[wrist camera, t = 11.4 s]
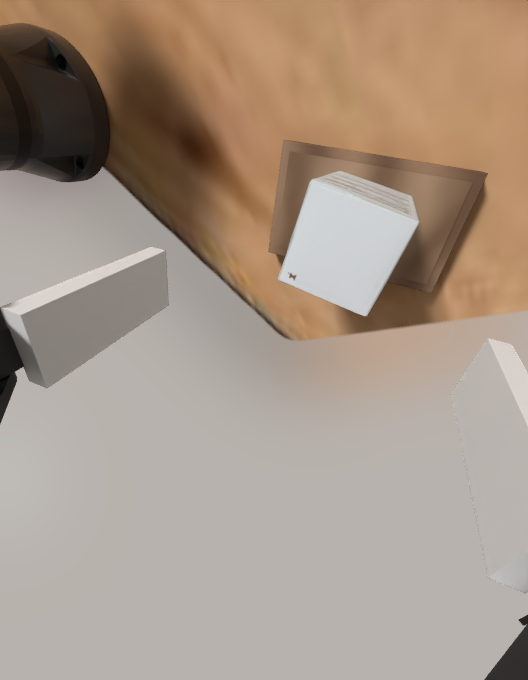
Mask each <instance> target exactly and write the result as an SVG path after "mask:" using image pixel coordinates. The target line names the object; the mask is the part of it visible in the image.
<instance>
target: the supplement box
mask: <svg viewBox="0 0 528 680" xmlns="http://www.w3.org/2000/svg"><path fill="white" fill-rule="evenodd" d="M418 224H419V219H418V216H417V212H416V208H415V205H414V201H413V198H412V196H410V195H407V194H404V193H401V192H399V191H396V190H393V189H390V188H388V187H385V186H382V185H379V184H377V183H374V182H371V181H368V180H365V179H363V178H360V177H357V176H354V175H351V174H349V173H346V172H343V171H338V172H334V173H331V174H328V175H325V176H322V177H319V178H316V179H312V180H311V181H310V183H309V186H308V189H307V192H306V195H305V198H304V201H303V204H302V207H301V210H300V214H299V217H298V220H297V223H296V226H295V229H294V231H293V234H292V237H291V240H290V244H289V247H288V250H287V254H286V257H285V260H284V262H283V266H282V269H281V272H280V274H279V277H278V280H279V281H280V282H283V283H286V284H288V285H291V286H293V287H296V288H298V289H301V290H303V291H305V292H308V293H310V294H312V295H315V296H317V297H319V298H322V299H324V300H326V301H329V302H331V303H333V304H336V305H338V306H340V307H343V308H345V309H347V310H350V311H352V312H355V313H357V314H359V315H362V316H365V317H366V316H367V315H368V314H369V312H370V310H371V309H372V307H373V305H374V304H375V302H376V300H377V298H378V297H379V295H380V293H381V291H382V290H383V288H384V286H385V284H386V283H387V281H388V279H389V277H390V276H391V274H392V272H393V270H394V268H395V266H396V265H397V263H398V261H399V259H400V257H401V256H402V254H403V252H404V250H405V249H406V247H407V245H408V243H409V241H410V240H411V238H412V236H413V234H414V232H415V230H416V228H417V226H418Z"/></svg>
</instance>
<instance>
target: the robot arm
mask: <svg viewBox="0 0 528 680" xmlns="http://www.w3.org/2000/svg"><path fill="white" fill-rule="evenodd" d="M108 147H109V123H108V116H107V111H106V106H105V103H104V99H103V96H102V93H101V90H100V88H99V85H98V83H97V81H96V79H95V77H94V75H93V73H92V71H91V69H90V68H89V66H88V64H87V63H86V61H85V60H84V59H83V57H82V56H81V55H80V53H79V52H78V51H77V50H76V49H75V48H74V47H73V46H72V45H71V44H70V43H69V42H68V41H67V40H66V39H64V38H63V37H62V36H60V35H58V34H57V33H55V32H52V31H50V30H47V29H44V28H41V27H38V26H35V25H31V24H25V23H16V24H9V25H2V26H0V171H2V170H20V171H23V172H27V173H31V174H34V175H38V176H42V177H46V178H49V179H53V180H56V181H61V182H75V181H84V180H88V179H90V178H92V177H93V176H95V175H96V174H97V173H98V172H99V171H100V169H101V168H102V166H103V164H104V162H105V160H106V157H107V153H108ZM168 305H169V304H168V284H167V266H166V251H165V250H162V249H158V248H155V247H149V248H146V249H144V250H141V251H139V252H136V253H134V254H131V255H129V256H126V257H124V258H121V259H119V260H116V261H114V262H111V263H109V264H107V265H104V266H102V267H99V268H97V269H94V270H92V271H89V272H87V273H84V274H82V275H80V276H77V277H74V278H72V279H69V280H67V281H64V282H62V283H59V284H57V285H54V286H52V287H49V288H47V289H44V290H42V291H39V292H37V293H35V294H32V295H29V296H27V297H25V298H22V299H20V300H17V301H15V302H12V303H10V304H7V305H5V306H2V307H0V423H1V421H2V418H3V416H4V413H5V410H6V408H7V405H8V403H9V400H10V397H11V395H12V392H13V390H14V387H15V385H16V382H17V376H16V374H15V371H17V370H18V369H20V368H22V367H24V369H25V372H26V374H27V377H28V379H29V381H31V382H33V383H36V384H38V385H40V386H43V387H45V388H48V387H50V386H51V385H53V384H54V383H56V382H57V381H59V380H60V379H62V378H63V377H65V376H66V375H68V374H69V373H70V372H71V371H73V370H75V369H76V368H77V367H79V366H81V365H82V364H84V363H85V362H86V361H88V360H89V359H91V358H92V357H94V356H95V355H97V354H98V353H99V352H101V351H102V350H104V349H105V348H107V347H108V346H110V345H111V344H112V343H114V342H116V341H117V340H119V339H120V338H121V337H123V336H124V335H126V334H127V333H128V332H130V331H131V330H133V329H135V328H136V327H137V326H139V325H140V324H142V323H143V322H145V321H146V320H148V319H149V318H151V317H152V316H153V315H155V314H156V313H158V312H159V311H161V310H162V309H164V308H165V307H166V306H168ZM451 398H452V403H453V407H454V412H455V417H456V422H457V427H458V432H459V437H460V442H461V447H462V452H463V456H464V461H465V466H466V471H467V476H468V481H469V486H470V491H471V495H472V501H473V505H474V511H475V515H476V520H477V525H478V530H479V535H480V540H481V545H482V550H483V555H484V560H485V564H486V570H487V575H488V578H490V579H492V580H495V581H497V582H500V583H502V584H504V585H506V586H509V587H511V588H514V589H516V590H518V591H520V592H523V593H527V592H528V373H527V371H526V370H525V368H524V366H523V364H522V362H521V360H520V358H519V357H518V355H517V353H516V351H515V350H514V348H513V346H512V345H511V344H507V343H503V342H500V341H496V340H493V339H489V338H487V340H486V341H485V343H484V344H483V346H482V347H481V349H480V351H479V352H478V354H477V355H476V357H475V358H474V360H473V361H472V363H471V365H470V366H469V367H468V369H467V370H466V372H465V374H464V375H463V377H462V378H461V380H460V381H459V383H458V384H457V386H456V387H455V389H454V390H453V392H452V394H451ZM519 621H520V622H521V623H522V625H526V624H527V625H526V627H525V628H524V629H523V631H522V632H521V633H520V634H519V636H518V637H517V638H516V640H515V641H514V642H513V643H512V645H511V646H510V647H509V649H508V650H507V651H506V652H505V654H504V655H503V656H502V658H501V659H500V660H499V662H498V663H497V664H496V665H495V667H494V668H493V669H492V671H491V672H490V673H489V674H488V676H487V677H486V678H485V680H528V615H527V616H525V617H523V618H521V619H519Z"/></svg>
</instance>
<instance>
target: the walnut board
mask: <svg viewBox="0 0 528 680" xmlns="http://www.w3.org/2000/svg"><path fill="white" fill-rule="evenodd" d="M338 171H343V172H346V173H349V174H351V175H354V176H357V177H360V178H363V179H365V180H368V181H371V182H374V183H377V184H379V185H382V186H385V187H388V188H390V189H393V190H396V191H399V192H401V193H404V194H407V195H410V196H412V198H413V201H414V205H415V208H416V212H417V216H418V219H419V224H418V226H417V228H416V230H415V232H414V234H413V236H412V238H411V240H410V241H409V243H408V245H407V247H406V249H405V250H404V252H403V254H402V256H401V257H400V259H399V261H398V263H397V265H396V266H395V268H394V270H393V272H392V274H391V276H390V277H389V279H388V281H387V282H389V283H393V284H397V285H401V286H405V287H409V288H413V289H417V290H421V291H425V292H429V293H431V292H432V290H433V288H434V286H435V284H436V282H437V280H438V277H439V275H440V273H441V271H442V269H443V267H444V265H445V263H446V261H447V259H448V256H449V254H450V252H451V250H452V248H453V246H454V244H455V242H456V240H457V238H458V235H459V233H460V231H461V229H462V227H463V225H464V223H465V221H466V219H467V217H468V214H469V212H470V210H471V208H472V206H473V204H474V202H475V200H476V198H477V195H478V193H479V191H480V189H481V187H482V185H483V183H484V181H485V179H486V177H487V174H488V173H485V172H480V171H474V170H468V169H462V168H455V167H449V166H443V165H437V164H431V163H425V162H419V161H412V160H406V159H400V158H394V157H388V156H382V155H375V154H369V153H363V152H357V151H351V150H345V149H339V148H332V147H326V146H320V145H314V144H308V143H302V142H296V141H289V140H284V141H283V148H282V156H281V163H280V170H279V178H278V185H277V192H276V199H275V207H274V214H273V221H272V229H271V236H270V243H269V251H268V252H270V253H274V254H278V255H282V256H286V254H287V250H288V247H289V244H290V240H291V237H292V234H293V231H294V229H295V226H296V223H297V220H298V217H299V214H300V210H301V207H302V204H303V201H304V198H305V195H306V192H307V189H308V186H309V183H310V181H311V180H312V179H316V178H319V177H322V176H325V175H328V174H331V173H334V172H338Z"/></svg>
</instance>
